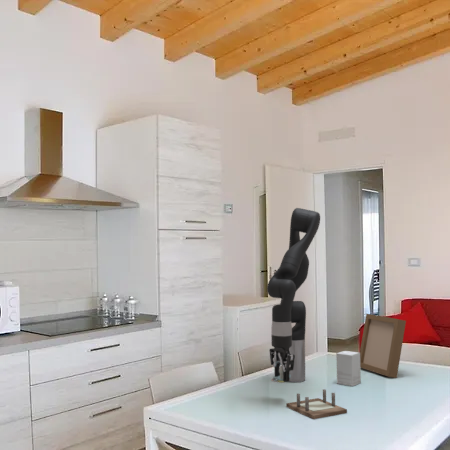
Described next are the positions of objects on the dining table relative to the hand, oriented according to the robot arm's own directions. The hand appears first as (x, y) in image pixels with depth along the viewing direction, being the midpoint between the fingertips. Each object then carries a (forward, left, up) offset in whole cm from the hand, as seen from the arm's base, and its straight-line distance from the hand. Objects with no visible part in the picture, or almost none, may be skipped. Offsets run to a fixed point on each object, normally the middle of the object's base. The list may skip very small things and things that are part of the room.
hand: (281, 379), depth 202 cm
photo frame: (-16, +66, -8) cm, 69 cm away
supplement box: (-8, +38, -8) cm, 40 cm away
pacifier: (-1, 0, -1) cm, 1 cm away
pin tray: (+15, +4, -8) cm, 17 cm away
